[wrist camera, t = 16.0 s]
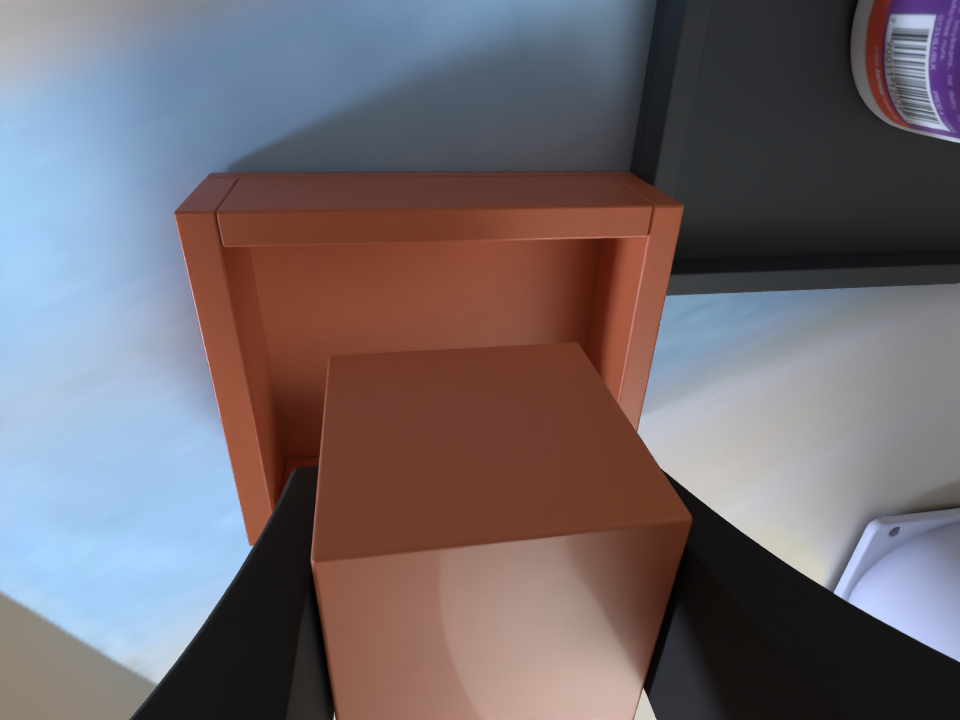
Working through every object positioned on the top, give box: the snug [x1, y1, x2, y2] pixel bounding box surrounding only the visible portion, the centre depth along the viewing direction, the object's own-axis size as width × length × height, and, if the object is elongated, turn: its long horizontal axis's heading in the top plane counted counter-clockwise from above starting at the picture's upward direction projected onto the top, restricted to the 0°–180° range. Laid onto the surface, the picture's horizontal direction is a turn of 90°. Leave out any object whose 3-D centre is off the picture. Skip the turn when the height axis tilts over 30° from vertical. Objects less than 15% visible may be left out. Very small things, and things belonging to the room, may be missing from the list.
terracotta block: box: [311, 342, 692, 720], centre depth 10 cm, size 4×4×4 cm
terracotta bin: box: [174, 171, 684, 546], centre depth 15 cm, size 10×8×3 cm
